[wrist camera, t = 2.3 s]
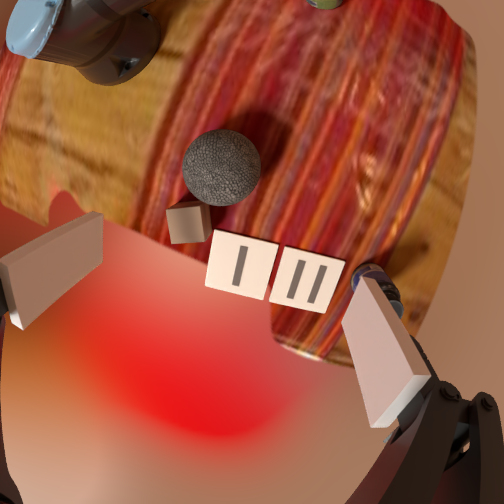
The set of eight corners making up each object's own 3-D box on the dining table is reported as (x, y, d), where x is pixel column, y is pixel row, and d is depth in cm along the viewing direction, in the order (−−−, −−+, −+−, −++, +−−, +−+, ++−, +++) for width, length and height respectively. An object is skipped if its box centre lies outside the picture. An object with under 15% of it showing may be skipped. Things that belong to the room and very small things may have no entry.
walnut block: (182, 233, 43) (171, 243, 39) (177, 202, 41) (165, 209, 37) (212, 231, 43) (204, 241, 38) (208, 199, 41) (199, 206, 36)
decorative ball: (213, 209, 41) (195, 228, 32) (183, 151, 38) (156, 153, 29) (274, 181, 39) (273, 191, 30) (244, 119, 36) (233, 110, 27)
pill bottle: (342, 278, 44) (359, 315, 33) (370, 254, 42) (395, 286, 31) (363, 300, 45) (381, 339, 35) (389, 278, 43) (415, 313, 33)
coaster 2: (268, 300, 46) (268, 301, 46) (284, 245, 42) (284, 246, 42) (324, 312, 46) (324, 313, 46) (344, 260, 43) (345, 262, 42)
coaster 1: (205, 284, 46) (204, 286, 46) (215, 228, 42) (214, 229, 42) (263, 298, 46) (262, 300, 46) (278, 244, 42) (278, 245, 42)
